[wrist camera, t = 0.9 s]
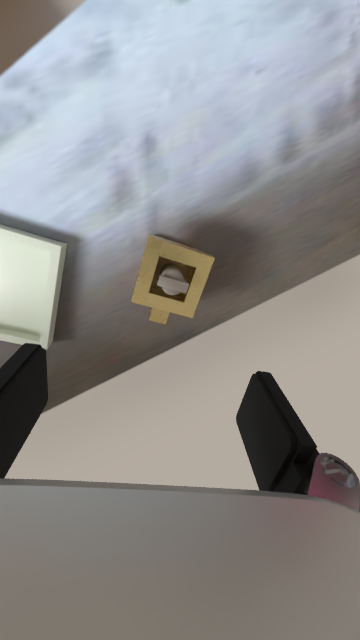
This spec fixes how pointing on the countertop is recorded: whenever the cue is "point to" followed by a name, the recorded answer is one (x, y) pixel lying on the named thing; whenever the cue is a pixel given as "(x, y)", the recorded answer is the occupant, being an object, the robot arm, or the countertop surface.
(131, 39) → the countertop surface
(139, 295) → the ring
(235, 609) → the robot arm
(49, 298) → the tray
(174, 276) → the beige post on base
